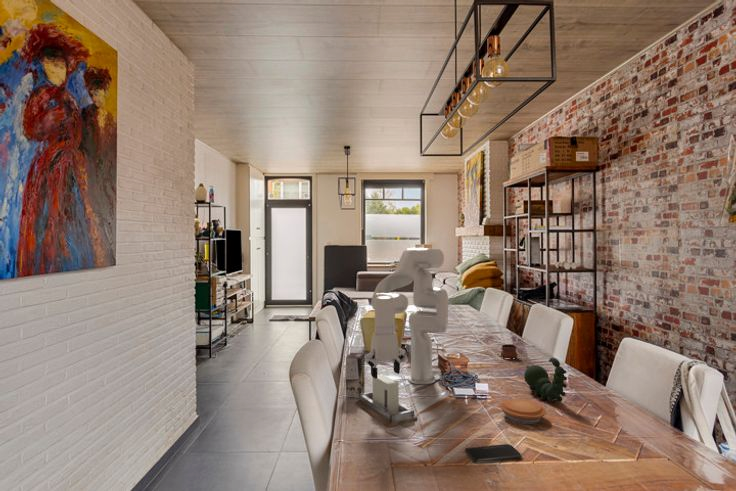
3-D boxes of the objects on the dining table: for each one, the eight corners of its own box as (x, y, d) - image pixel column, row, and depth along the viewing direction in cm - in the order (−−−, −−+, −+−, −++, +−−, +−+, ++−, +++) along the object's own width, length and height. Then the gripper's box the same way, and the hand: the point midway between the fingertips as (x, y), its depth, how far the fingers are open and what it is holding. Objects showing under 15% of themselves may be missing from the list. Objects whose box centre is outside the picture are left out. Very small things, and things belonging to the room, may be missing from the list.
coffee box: (360, 398, 170) (360, 358, 170) (345, 397, 171) (345, 357, 171) (365, 390, 179) (365, 352, 178) (350, 389, 180) (350, 351, 180)
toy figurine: (571, 410, 160) (535, 383, 185) (574, 362, 158) (537, 341, 183) (549, 412, 159) (515, 384, 183) (551, 364, 157) (517, 342, 182)
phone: (523, 456, 121) (474, 461, 119) (523, 460, 121) (474, 465, 119) (509, 443, 129) (463, 447, 127) (509, 447, 129) (463, 451, 127)
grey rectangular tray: (382, 398, 169) (382, 389, 169) (417, 419, 148) (417, 409, 148) (355, 403, 164) (355, 394, 164) (388, 427, 143) (388, 416, 143)
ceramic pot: (533, 359, 225) (533, 346, 225) (511, 365, 216) (510, 351, 216) (506, 352, 241) (506, 340, 241) (484, 357, 232) (484, 344, 232)
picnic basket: (366, 341, 268) (366, 294, 268) (407, 342, 265) (407, 295, 265) (359, 353, 239) (359, 300, 239) (404, 354, 236) (404, 301, 236)
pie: (490, 413, 154) (490, 399, 154) (523, 406, 160) (523, 393, 160) (521, 430, 140) (521, 415, 140) (555, 422, 146) (555, 408, 146)
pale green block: (381, 402, 162) (381, 374, 162) (398, 413, 152) (398, 382, 152) (371, 404, 160) (371, 375, 160) (388, 415, 150) (388, 384, 150)
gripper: (398, 325, 164) (399, 368, 164) (359, 330, 155) (360, 376, 156) (409, 328, 157) (410, 373, 157) (369, 334, 149) (370, 382, 149)
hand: (385, 375), depth 157 cm, fingers open, 9 cm apart
